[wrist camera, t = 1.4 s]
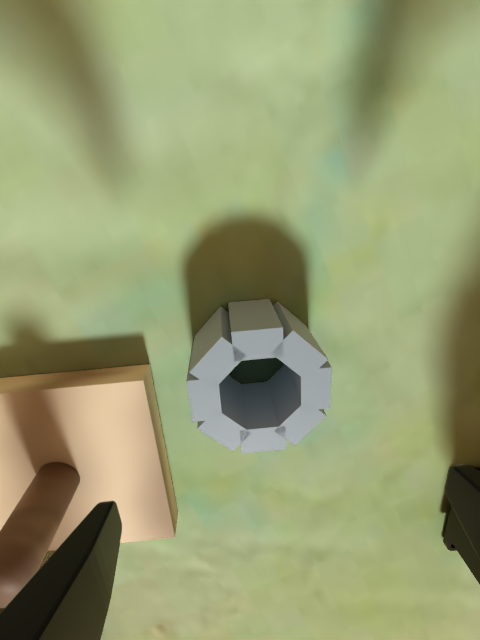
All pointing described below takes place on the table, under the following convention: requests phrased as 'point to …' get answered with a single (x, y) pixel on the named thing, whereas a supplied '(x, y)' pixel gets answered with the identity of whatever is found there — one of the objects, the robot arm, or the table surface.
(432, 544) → the table surface
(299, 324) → the ring
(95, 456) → the pegboard
